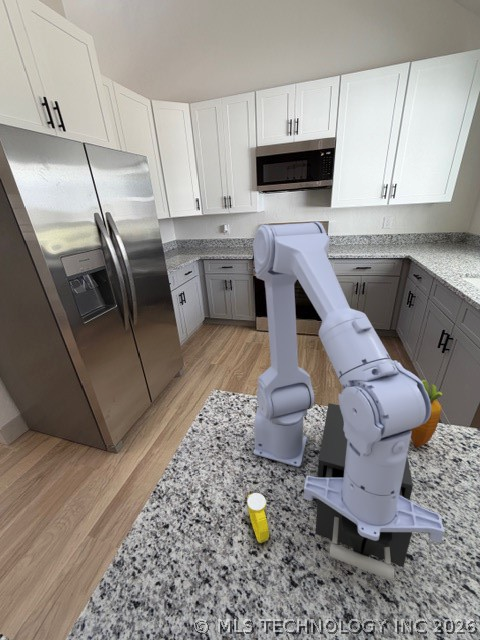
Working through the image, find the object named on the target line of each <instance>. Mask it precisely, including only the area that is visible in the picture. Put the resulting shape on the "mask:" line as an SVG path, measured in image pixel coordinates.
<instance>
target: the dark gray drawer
mask: <svg viewBox="0 0 480 640" xmlns="http://www.w3.org/2000/svg"><path fill="white" fill-rule="evenodd" d="M326 478H344V471H343V470H340V469H336V468H333V467H329V466H327V472H326ZM399 495H400V496H402V491H401V488H400V493H399ZM341 519H342V514H340V513H339V512H337V511H336V510H334V509H333V508H331V507H330V506H328V505H327V504H325V503H324V502H322V501H321V500H319V499H317V503H316V515H315V527H314V528H315V530H314V532H315V533H314V535H317V536H319V537H322V538H324V539H327V540H330V541H331V542H330V545H329V555H328V556H329V557H330V558H332V559H335V560H337V561H340V562H342V563H345V564H348V565H350V566H352V567H354V568H357V569H359V570H363V571H365V572H367V573H370V574H373V575H375V576H377V577H380V578H383V579H385V580H387V581H390V582H394V581H395V567H394V566H393V565H392V564H394V565H397V566H400V567H402V568H404V565H405V563H406V559H407V554H408V551H409V546H410V543H411V539H412V535H413V532H392V542H391V544H390V546H389V547H384V548H380V549H378V550H376V551H375V552H373V553H372V554H371V555H370V557H368V556H365V555H362V554H360V553H357V552H354V550H351V549H349V548H352V549H353V546H352V543H351V541H350V539H349V537H348V536H347V534H346V533H345V532H344V531H343V528H342V524H341ZM338 544H341V545H344V546H345V547H344V546H341V545H338ZM347 547H349V548H347ZM371 556H373V557H375V558H373V557H371ZM379 559H381V560H383V561H381V560H379Z"/></svg>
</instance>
